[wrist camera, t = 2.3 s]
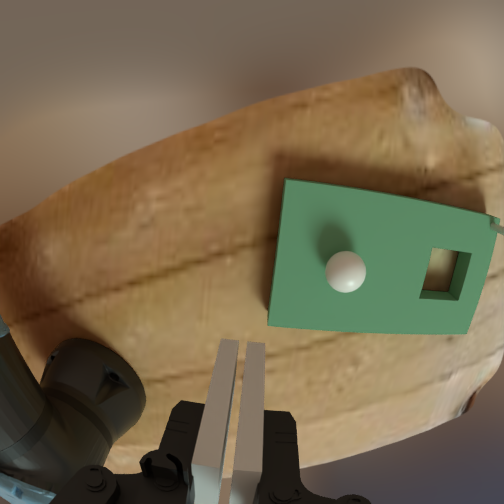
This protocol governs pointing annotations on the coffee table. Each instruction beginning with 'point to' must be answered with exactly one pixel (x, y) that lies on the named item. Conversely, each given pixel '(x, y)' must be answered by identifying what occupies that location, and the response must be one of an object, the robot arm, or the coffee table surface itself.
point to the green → (375, 261)
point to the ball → (345, 271)
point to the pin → (497, 228)
